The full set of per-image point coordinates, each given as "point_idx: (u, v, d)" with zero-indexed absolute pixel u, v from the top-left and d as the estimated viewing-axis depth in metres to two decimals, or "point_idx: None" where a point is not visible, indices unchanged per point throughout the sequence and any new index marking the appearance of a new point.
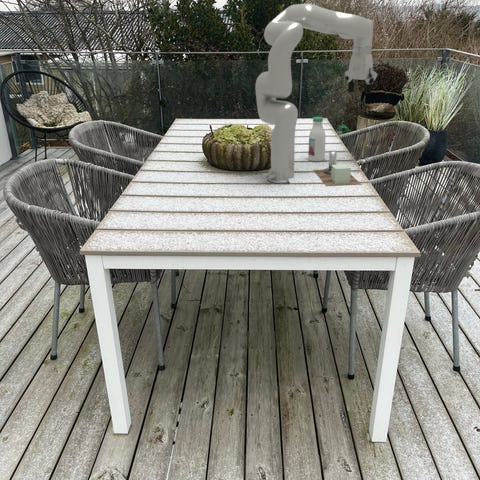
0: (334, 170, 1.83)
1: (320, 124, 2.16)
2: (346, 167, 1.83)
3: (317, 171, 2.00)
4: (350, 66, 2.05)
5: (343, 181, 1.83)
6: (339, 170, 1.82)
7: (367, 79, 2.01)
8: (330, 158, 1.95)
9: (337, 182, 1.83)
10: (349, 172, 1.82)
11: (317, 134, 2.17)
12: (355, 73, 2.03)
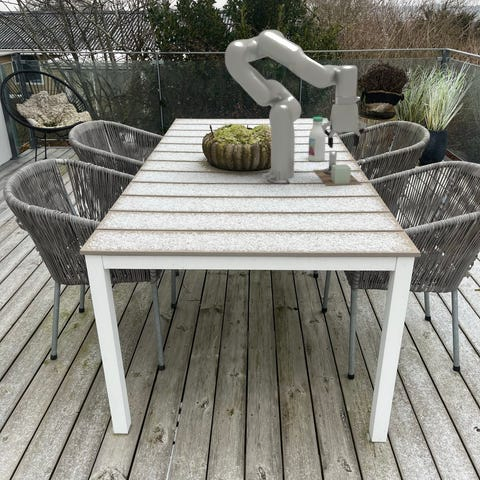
0: (334, 170, 1.83)
1: (320, 124, 2.16)
2: (346, 167, 1.83)
3: (317, 171, 2.00)
4: None
5: (343, 181, 1.83)
6: (339, 170, 1.82)
7: None
8: (330, 158, 1.95)
9: (337, 182, 1.83)
10: (349, 172, 1.82)
11: (317, 134, 2.17)
12: None
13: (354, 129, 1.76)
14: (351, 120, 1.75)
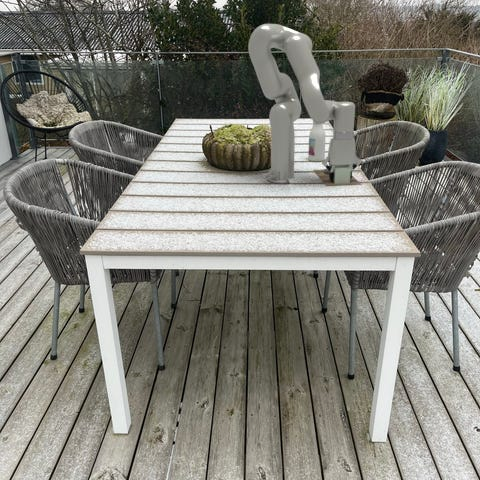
0: (334, 170, 1.83)
1: (320, 124, 2.16)
2: (346, 167, 1.83)
3: (317, 171, 2.00)
4: None
5: (343, 181, 1.83)
6: (339, 170, 1.82)
7: (330, 165, 1.85)
8: None
9: (337, 182, 1.83)
10: (349, 172, 1.82)
11: (317, 134, 2.17)
12: None
13: (351, 163, 1.82)
14: (348, 154, 1.80)
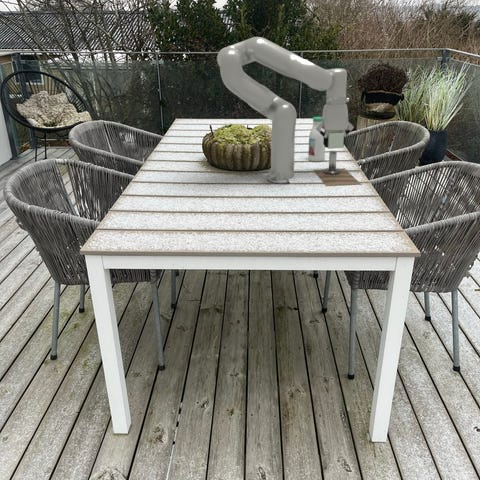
0: (328, 135, 1.90)
1: None
2: (339, 132, 1.90)
3: (317, 171, 2.00)
4: None
5: (336, 146, 1.91)
6: (333, 135, 1.89)
7: (324, 131, 1.93)
8: (330, 158, 1.95)
9: (331, 147, 1.91)
10: (342, 137, 1.90)
11: (317, 134, 2.17)
12: None
13: (344, 128, 1.89)
14: (341, 119, 1.87)
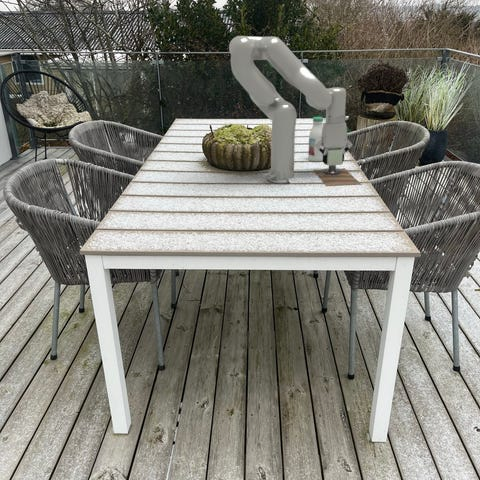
0: (327, 152, 1.93)
1: (320, 124, 2.16)
2: (338, 149, 1.93)
3: (317, 171, 2.00)
4: None
5: (335, 162, 1.94)
6: (332, 152, 1.92)
7: (323, 148, 1.95)
8: None
9: (330, 164, 1.94)
10: (341, 154, 1.92)
11: (317, 134, 2.17)
12: None
13: (343, 145, 1.92)
14: (340, 137, 1.90)
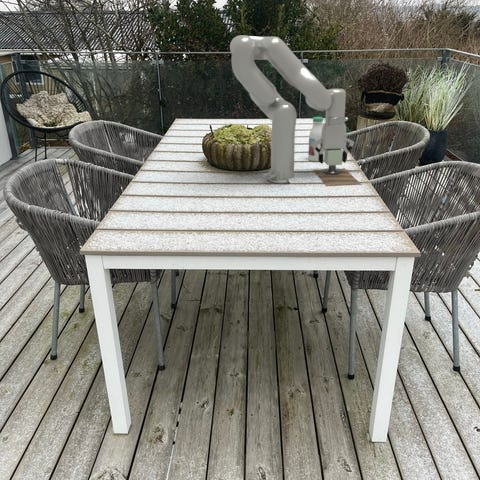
0: (327, 152, 1.93)
1: (320, 124, 2.16)
2: (338, 149, 1.93)
3: (317, 171, 2.00)
4: None
5: (335, 162, 1.94)
6: (332, 152, 1.92)
7: None
8: None
9: (330, 164, 1.94)
10: (341, 154, 1.92)
11: (317, 134, 2.17)
12: None
13: (342, 147, 1.92)
14: (340, 138, 1.90)
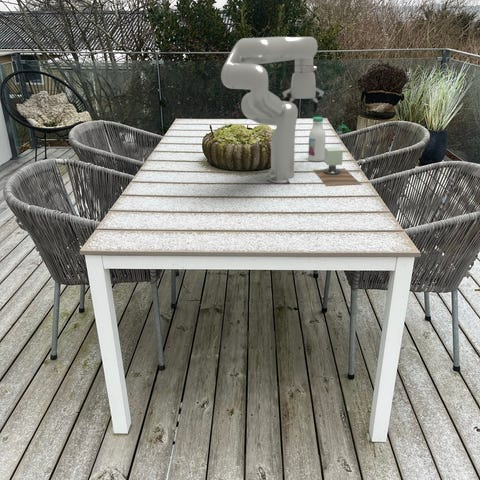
0: (327, 152, 1.93)
1: (320, 124, 2.16)
2: (338, 149, 1.93)
3: (317, 171, 2.00)
4: None
5: (335, 162, 1.94)
6: (332, 152, 1.92)
7: None
8: None
9: (330, 164, 1.94)
10: (341, 154, 1.93)
11: (317, 134, 2.17)
12: None
13: (311, 96, 1.95)
14: (308, 87, 1.93)
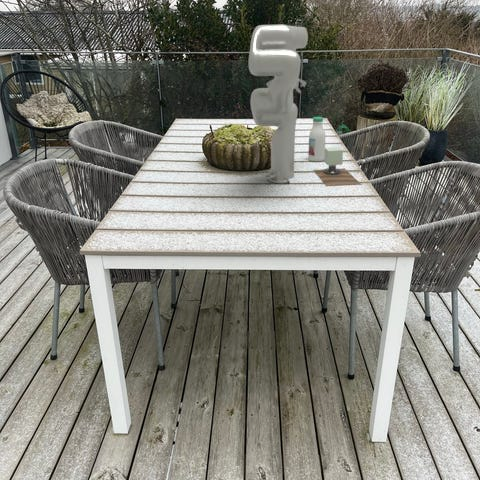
0: (327, 152, 1.93)
1: (320, 124, 2.16)
2: (338, 149, 1.93)
3: (317, 171, 2.00)
4: None
5: (335, 162, 1.94)
6: (332, 152, 1.92)
7: None
8: None
9: (330, 164, 1.94)
10: (341, 154, 1.93)
11: (317, 134, 2.17)
12: None
13: (295, 86, 2.00)
14: None
